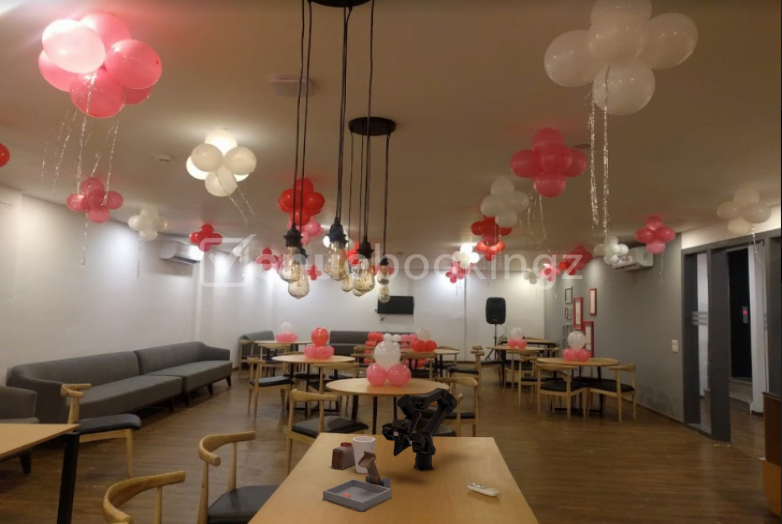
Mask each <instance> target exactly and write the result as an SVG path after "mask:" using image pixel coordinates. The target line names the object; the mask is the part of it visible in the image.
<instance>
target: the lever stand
mask: <svg viewBox="0 0 782 524" xmlns="http://www.w3.org/2000/svg"><path fill="white" fill-rule="evenodd" d="M391 480H392V479H391V477H387V476H384V477H382V478H381V479H380V480H379V486H382V487H386V488H390V489H391ZM365 482H368V483H371V484H372V482H371V479H370V477H369V474H368V475H366V476H365Z"/></svg>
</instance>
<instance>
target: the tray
mask: <svg viewBox="0 0 782 524" xmlns="http://www.w3.org/2000/svg"><path fill="white" fill-rule="evenodd" d="M344 493H349V494H350V495H351V498H349V497H345V496H343V494H344ZM392 493H393V491H392V488H391V487H390V488H386V487H382V486H379V485H375V484H371V483H368V482H366V481H365V480H364V481H363V480H360V479H357V478H351V479H349V480H346V481H344V482H342V483H340V484H337V485H334V486H332V487H329V488H327V489H324V490H323V491H322V495H323V496H322V500H324V501H326V502H329V503H332V504H336V505H339V506H342V507H345V508H349V509H352V510H355V511H359V512H362V513H363V512H365V511H367V510H369V509H371V508H374V507H375V506H377V505H379V504H381V503H384V502H385V501H388V500H389V499H392V496H393V495H392Z"/></svg>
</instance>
